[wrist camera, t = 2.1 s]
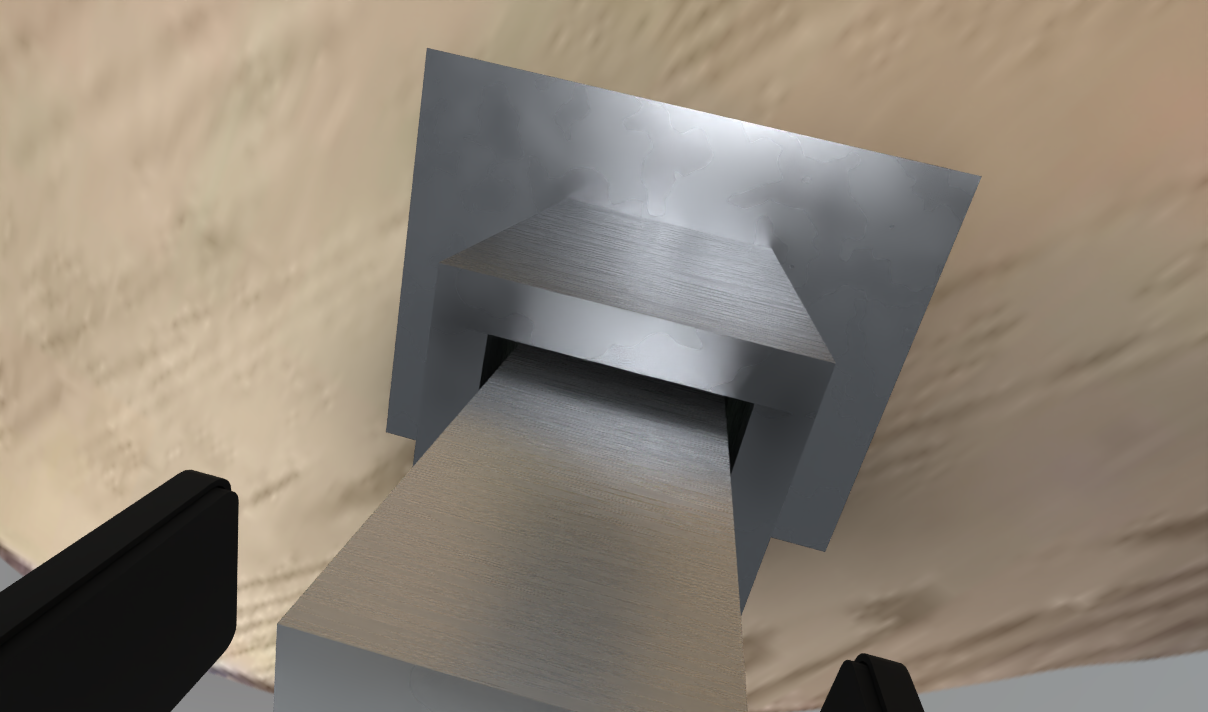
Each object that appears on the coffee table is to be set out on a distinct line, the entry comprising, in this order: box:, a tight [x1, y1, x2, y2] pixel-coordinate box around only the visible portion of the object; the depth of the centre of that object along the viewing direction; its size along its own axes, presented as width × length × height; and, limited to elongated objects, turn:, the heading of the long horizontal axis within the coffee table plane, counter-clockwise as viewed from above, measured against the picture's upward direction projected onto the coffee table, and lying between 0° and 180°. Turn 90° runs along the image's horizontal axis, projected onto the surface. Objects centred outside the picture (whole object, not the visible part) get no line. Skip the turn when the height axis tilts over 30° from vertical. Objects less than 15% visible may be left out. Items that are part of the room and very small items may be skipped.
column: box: [273, 343, 748, 712], centre depth 16 cm, size 5×5×20 cm
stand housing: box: [386, 48, 982, 615], centre depth 20 cm, size 20×16×14 cm
